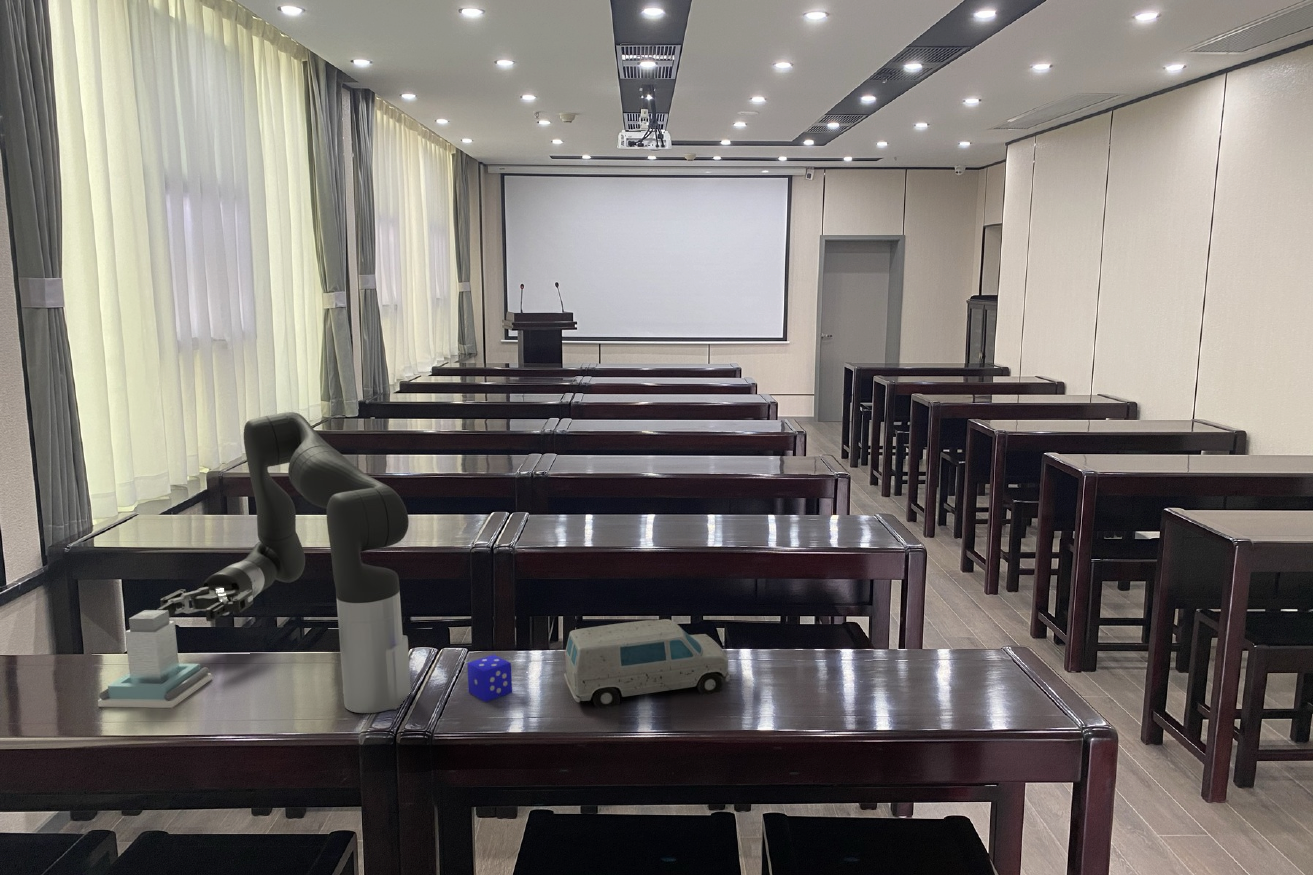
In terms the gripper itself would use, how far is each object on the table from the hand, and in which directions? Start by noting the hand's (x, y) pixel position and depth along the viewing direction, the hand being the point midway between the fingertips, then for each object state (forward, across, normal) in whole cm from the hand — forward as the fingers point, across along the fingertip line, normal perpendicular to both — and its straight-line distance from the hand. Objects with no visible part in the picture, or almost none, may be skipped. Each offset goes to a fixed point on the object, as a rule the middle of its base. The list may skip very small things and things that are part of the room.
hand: (183, 615), depth 158 cm
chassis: (+9, 0, +10) cm, 13 cm away
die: (+7, +54, +10) cm, 55 cm away
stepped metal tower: (+9, 0, +9) cm, 13 cm away
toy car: (+5, +78, +10) cm, 79 cm away
